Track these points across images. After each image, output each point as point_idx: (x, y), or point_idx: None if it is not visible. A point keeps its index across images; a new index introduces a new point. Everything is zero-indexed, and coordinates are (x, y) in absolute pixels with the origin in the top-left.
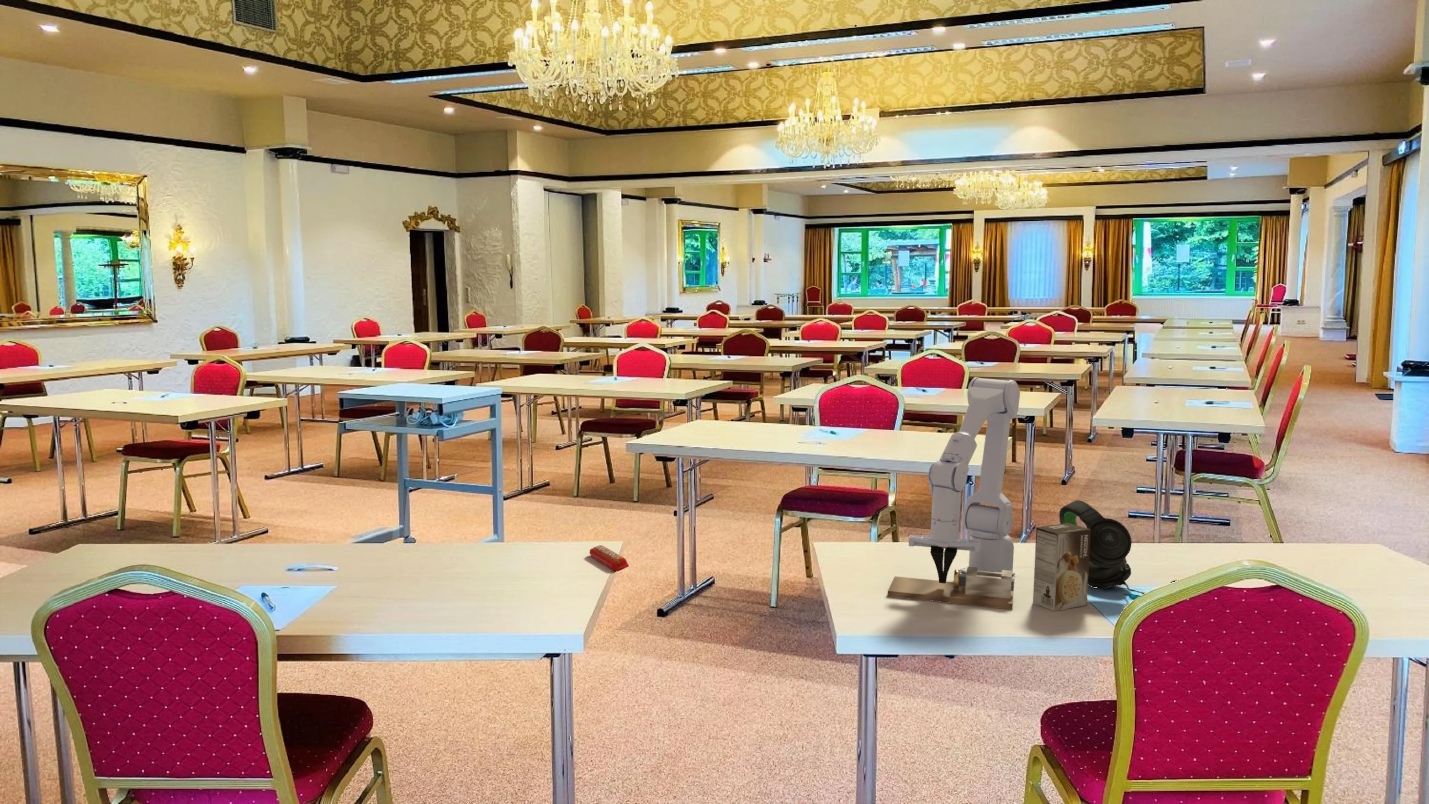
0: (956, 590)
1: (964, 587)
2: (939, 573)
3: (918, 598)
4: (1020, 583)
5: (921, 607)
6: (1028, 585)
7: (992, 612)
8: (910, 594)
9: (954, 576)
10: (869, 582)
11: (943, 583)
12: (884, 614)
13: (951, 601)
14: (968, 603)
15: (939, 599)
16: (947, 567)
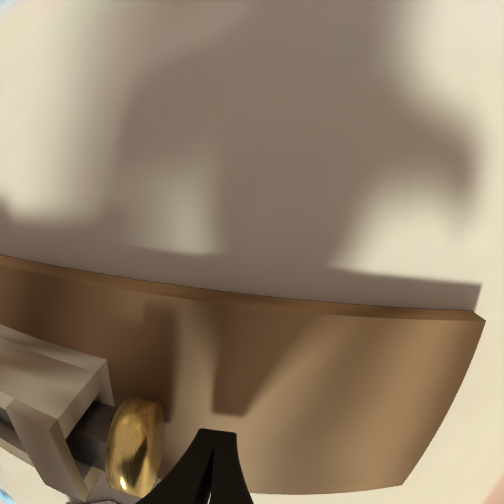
0: None
1: None
2: (230, 469)
3: (350, 307)
4: None
5: (339, 170)
6: None
7: (17, 192)
8: (395, 316)
9: (133, 441)
10: (473, 433)
11: None
12: (477, 58)
13: (170, 287)
14: (92, 273)
15: (235, 297)
16: (165, 493)
